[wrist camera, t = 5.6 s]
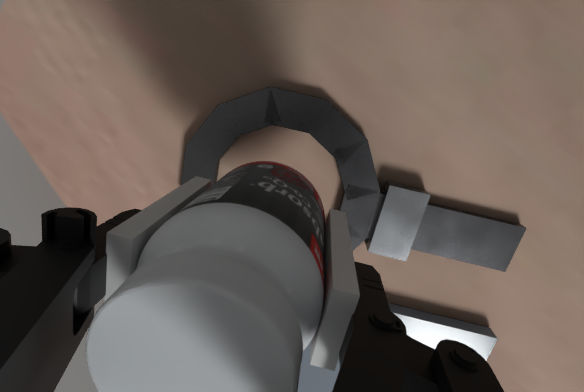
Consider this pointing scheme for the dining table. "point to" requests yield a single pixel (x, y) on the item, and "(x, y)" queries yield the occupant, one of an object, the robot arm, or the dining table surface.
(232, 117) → the iron eye
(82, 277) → the robot arm
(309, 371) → the slate trivet
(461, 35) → the dining table surface
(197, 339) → the pill bottle
